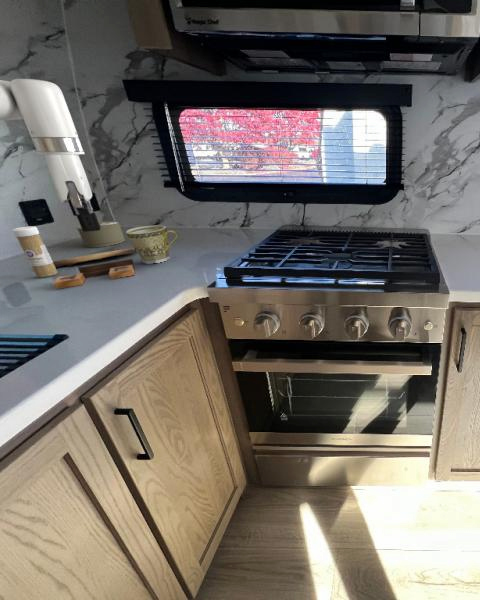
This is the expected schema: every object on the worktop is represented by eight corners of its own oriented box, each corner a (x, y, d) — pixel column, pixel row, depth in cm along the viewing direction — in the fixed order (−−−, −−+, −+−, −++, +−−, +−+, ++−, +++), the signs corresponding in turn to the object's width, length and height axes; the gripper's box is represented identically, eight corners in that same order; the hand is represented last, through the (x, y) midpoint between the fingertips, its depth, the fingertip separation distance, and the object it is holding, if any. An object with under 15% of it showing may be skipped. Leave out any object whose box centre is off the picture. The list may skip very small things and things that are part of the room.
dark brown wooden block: (81, 278, 90) (76, 269, 89) (82, 275, 93) (78, 266, 92) (134, 269, 97) (131, 260, 96) (135, 266, 99) (131, 258, 98)
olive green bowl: (84, 243, 123) (75, 224, 120) (124, 237, 130) (117, 219, 127) (85, 250, 115) (76, 230, 112) (127, 243, 122) (120, 224, 119)
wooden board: (138, 247, 116) (137, 245, 115) (140, 254, 108) (139, 251, 108) (41, 264, 102) (39, 261, 102) (35, 272, 95) (34, 269, 95)
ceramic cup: (130, 267, 98) (117, 234, 94) (148, 256, 107) (137, 226, 103) (177, 264, 100) (167, 231, 96) (191, 254, 109) (181, 224, 105)
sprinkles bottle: (33, 279, 91) (7, 230, 85) (41, 273, 94) (17, 226, 89) (54, 276, 92) (30, 228, 86) (62, 271, 96) (39, 225, 90)
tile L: (111, 279, 90) (108, 273, 89) (112, 274, 93) (110, 267, 93) (134, 275, 92) (131, 269, 91) (134, 270, 96) (132, 264, 95)
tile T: (56, 289, 84) (53, 282, 83) (60, 283, 88) (57, 276, 87) (82, 284, 87) (79, 278, 86) (85, 278, 90) (82, 272, 89)
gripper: (43, 146, 76) (75, 226, 84) (27, 147, 65) (66, 239, 73) (86, 146, 80) (113, 223, 88) (77, 147, 69) (110, 234, 77)
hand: (92, 230), depth 80 cm, fingers closed
